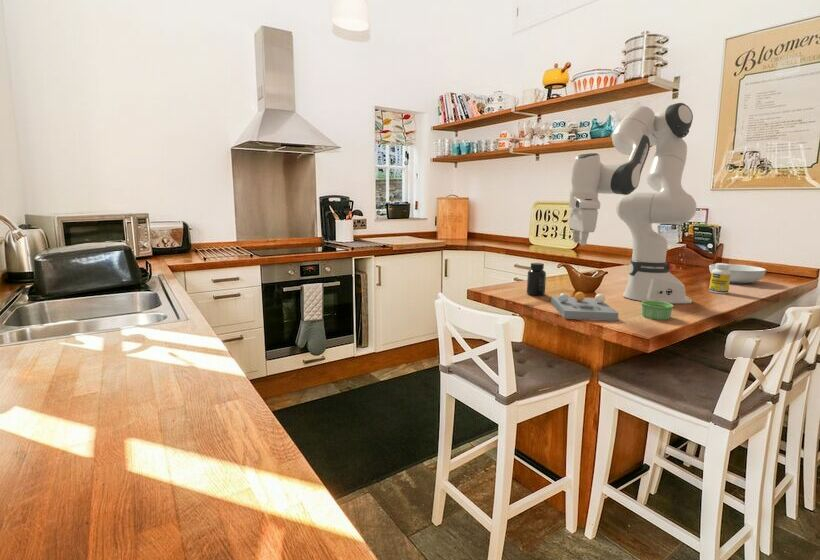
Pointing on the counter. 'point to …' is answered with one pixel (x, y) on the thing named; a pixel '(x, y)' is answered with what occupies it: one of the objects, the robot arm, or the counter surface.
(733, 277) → the serving bowl
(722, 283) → the pill bottle
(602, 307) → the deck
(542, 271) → the supplement bottle
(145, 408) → the counter surface
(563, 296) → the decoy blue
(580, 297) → the ball
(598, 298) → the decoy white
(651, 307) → the ramekin
